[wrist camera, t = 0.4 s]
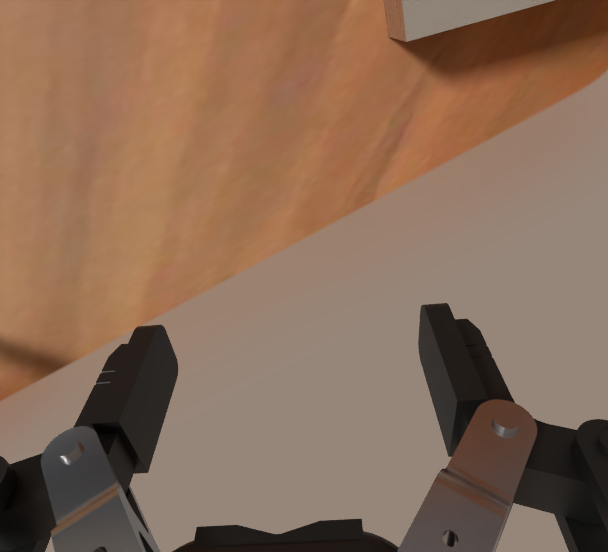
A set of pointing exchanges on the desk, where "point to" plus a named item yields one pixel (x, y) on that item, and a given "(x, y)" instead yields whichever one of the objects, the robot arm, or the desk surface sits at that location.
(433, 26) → the breaker box
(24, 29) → the desk surface
